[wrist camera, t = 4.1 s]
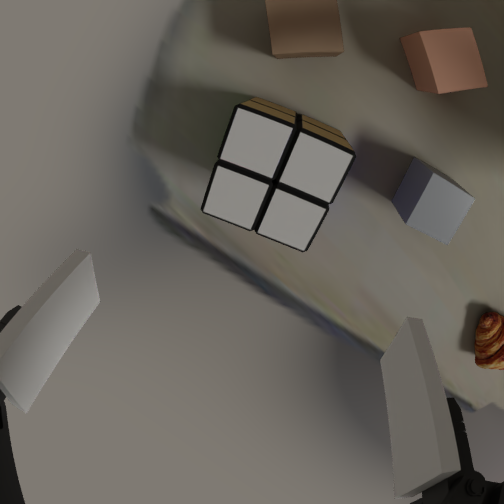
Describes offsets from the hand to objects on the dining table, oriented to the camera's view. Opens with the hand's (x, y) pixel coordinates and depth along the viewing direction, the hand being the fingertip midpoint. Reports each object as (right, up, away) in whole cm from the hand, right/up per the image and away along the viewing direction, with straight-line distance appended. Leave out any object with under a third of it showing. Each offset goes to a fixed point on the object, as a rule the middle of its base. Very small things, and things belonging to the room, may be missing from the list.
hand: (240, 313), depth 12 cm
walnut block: (+6, +25, +13) cm, 28 cm away
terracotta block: (+19, +23, +12) cm, 32 cm away
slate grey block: (+20, +10, +20) cm, 30 cm away
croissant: (+44, -13, +30) cm, 55 cm away
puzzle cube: (+4, +13, +21) cm, 25 cm away
